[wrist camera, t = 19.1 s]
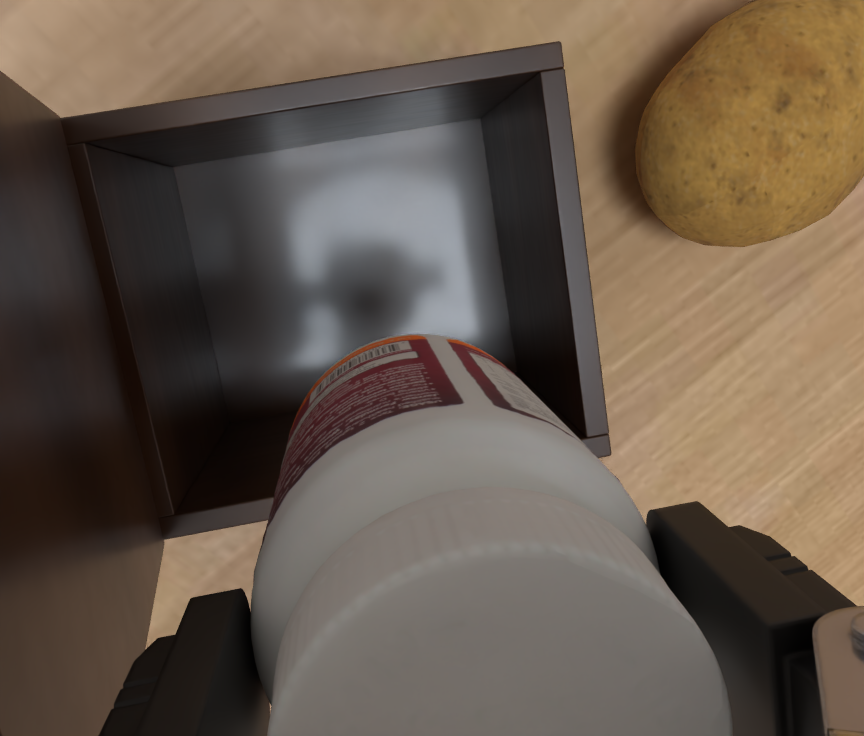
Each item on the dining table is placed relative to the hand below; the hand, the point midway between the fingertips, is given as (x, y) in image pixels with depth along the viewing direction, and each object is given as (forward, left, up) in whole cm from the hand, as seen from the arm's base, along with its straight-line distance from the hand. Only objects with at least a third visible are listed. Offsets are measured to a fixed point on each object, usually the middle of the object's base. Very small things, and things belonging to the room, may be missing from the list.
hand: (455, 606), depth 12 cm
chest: (+3, +1, -27) cm, 28 cm away
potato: (+7, -18, -28) cm, 34 cm away
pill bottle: (0, 0, -8) cm, 8 cm away
